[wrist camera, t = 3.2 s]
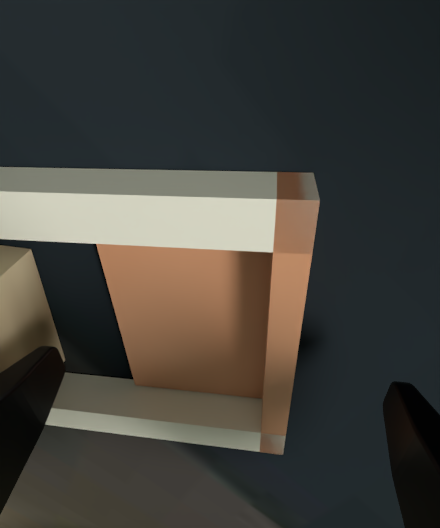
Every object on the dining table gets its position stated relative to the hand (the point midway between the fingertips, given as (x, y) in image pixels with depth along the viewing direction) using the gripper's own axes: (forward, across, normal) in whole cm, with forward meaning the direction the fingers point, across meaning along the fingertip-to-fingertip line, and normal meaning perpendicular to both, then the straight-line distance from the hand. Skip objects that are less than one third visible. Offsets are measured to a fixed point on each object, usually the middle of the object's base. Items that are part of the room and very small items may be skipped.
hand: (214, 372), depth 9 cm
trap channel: (+2, +6, 0) cm, 7 cm away
